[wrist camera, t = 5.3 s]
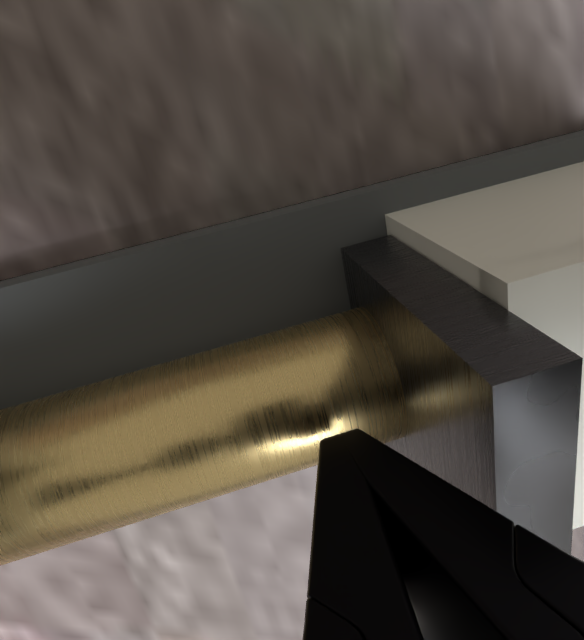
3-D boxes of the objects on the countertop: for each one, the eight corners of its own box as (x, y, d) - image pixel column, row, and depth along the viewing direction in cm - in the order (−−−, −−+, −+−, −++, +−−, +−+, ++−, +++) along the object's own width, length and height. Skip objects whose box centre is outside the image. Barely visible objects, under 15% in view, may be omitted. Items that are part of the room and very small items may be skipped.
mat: (-305, 639, 13) (-326, 663, 12) (-562, 426, 10) (-602, 445, 9) (598, 357, 16) (612, 366, 15) (616, 121, 13) (635, 122, 12)
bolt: (-57, 554, 12) (-234, 909, 7) (-180, 389, 10) (-576, 720, 5) (562, 361, 14) (803, 525, 9) (570, 185, 12) (896, 259, 7)
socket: (409, 413, 14) (511, 550, 10) (384, 214, 12) (507, 283, 7) (599, 354, 15) (772, 459, 11) (614, 152, 12) (851, 183, 8)
